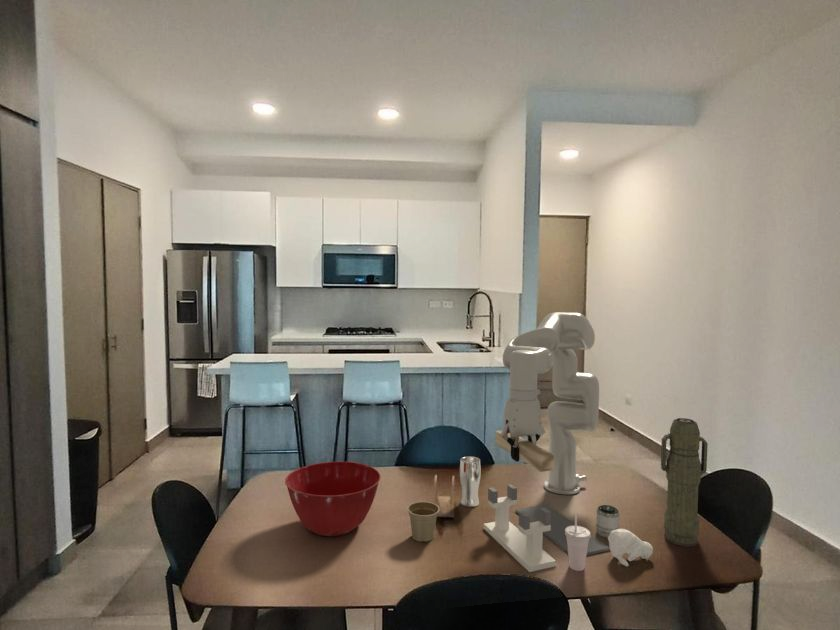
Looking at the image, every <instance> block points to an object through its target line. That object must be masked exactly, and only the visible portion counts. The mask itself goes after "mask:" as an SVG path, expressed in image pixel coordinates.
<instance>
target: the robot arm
mask: <svg viewBox="0 0 840 630" xmlns="http://www.w3.org/2000/svg"><path fill="white" fill-rule="evenodd" d="M595 339H596V335H595V330H594V328H593V326H592V325H591V322H590V320H589V319H588V317H586V316H585V315H584V314H582V313H579V312H559V311H558V312H550V313H548V314H546V315H545V316H544V317H543V319H542V320H541V321H540V323H539V325H537V327H536V328H535V329H532V330H529V331H526V332H524V333H521V334H519V335H516V336H515V337H513V338H512V339H511V340H510V341H509V342H508V344H507V346H506V347H505V349H504V351H503V354H502V364H503V366H504V368H505V369H507V371H509V398H507V399H506V402H505V407H504V411H503V412H504V413H503V422H502V423H503V424H502V427H503V428H502V430H503V431H502V433H501V434H500V437H501V438H503V439H504V440H506V441H507V442H508V443H509V444H510V445H511V453H510V457H511V459H512V460H513V461H515V462H516V463H517V462H519V461H520V459H519V447H518V441H519V437H526V440H527V441H529V442H531V443H533V444H535V445H537V442H538V441H539V440H540V438H541V437H542V436H543V435H545V434H546V430H545V429H544V427H543V424H542V410H541V404H540V403H541V402H540V399H538V395H540V394H541V389H540V388H538V375H539V374H546V373H548V372H549V371H550V370H551V369H552V384H551V386H552V387H551V388H552V392H553V395H554V396H556V397H558V398H563V399H570V400H579V401H582V402H583V403H581V402H579V403H578V402H572V401H564V400H563V401H562V400H556V401H553V402H550V403H549V405H548V406H547V409H546V410H547V411H546V415H547V423H548V434H549V438H548V442H549V443H548V444H549V445H548V452H550V453H552V454H553V455H554V470H550V471H548V479H547V480H545V481H544V482H543V486H544V488H545V490H547V491H549V492H551V493H553V494H557V495H558V494H559V495H565V496H566V495H569V496H570V495H574V494H575V495H576V494H578V493H579V492H580V491H581V485H580V483H581V482H586V481H587V480H588V477H587V476H586V475H579V474H577V452H578V451H577V446H578V445H577V444H578V443H577V442H578V441H577V438H576V436H575V434H574V433H573V431H578V432H585V433H586V432H587V433H592V432H593V433H594V432H595V431H596V430H597V429H598V426H599V412H600V411H599V409H600V404H599V403H600V385H599V384H600V382H599V379H598V377H597V376H596V375H595V374H592V373H588V372H586V373H585V372H579V371H578V363H579V362H578V356H577V354H576V352H575V351H574V350H582V351H586V350H587V351H588V350H590V349H592V348H593V346H594V344H595ZM508 433H510V437H508V436H507V435H508Z"/></svg>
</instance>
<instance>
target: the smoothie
mask: <svg viewBox="0 0 840 630" xmlns="http://www.w3.org/2000/svg"><path fill="white" fill-rule="evenodd" d="M574 523H575V526H569V527H567V528H566V529H565V535H566V537H567V546H568V553H567V554H568V562H569V565H568V566H569V568H570V569H571V570H572V571H576V572H581V571H584V570H585V566H586V561H587V556H588V555H587V548H588V542H589V539H590V537H591V535H592V534H591V531H590V530H589V529H588V528H586V527H584V526H581V525H578V515H577V514H574ZM577 525H578V526H577ZM590 534H591V535H590ZM586 555H587V556H586Z"/></svg>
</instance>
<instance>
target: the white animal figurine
mask: <svg viewBox="0 0 840 630" xmlns="http://www.w3.org/2000/svg"><path fill="white" fill-rule="evenodd" d="M607 540H608V546H609V547H610V550H609V551H610V553H611V555H612V556H613V557H614V558H615V559H617V560H618V561H619V564H621V565H623V566H625V567H629V566H630V565H629V563H628V561H629V562H632V561H634V560H635V559H637V558H639V557H640V558H641V559H643V560H644V559H645V561H646V562H648V560H649V559H650V557H651V556H653V553H654V548H653V545H652V544H650V543H649V542H648V541H642V540H641V539H640V538H639V537H638V536H637V535H636V534H635V533H634V532H631V531H630V530H628V529H625V528H619V529H616V530H612V531H611V533H610V535H609V537H608V538H607ZM624 554H626V555H628V557H627V560H628V561H627V560H626V559H625V558H624V557H623V555H624Z"/></svg>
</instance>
